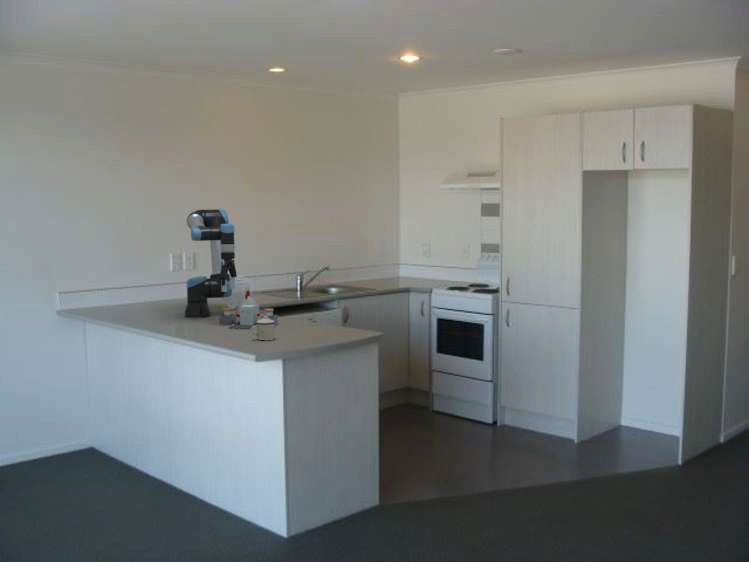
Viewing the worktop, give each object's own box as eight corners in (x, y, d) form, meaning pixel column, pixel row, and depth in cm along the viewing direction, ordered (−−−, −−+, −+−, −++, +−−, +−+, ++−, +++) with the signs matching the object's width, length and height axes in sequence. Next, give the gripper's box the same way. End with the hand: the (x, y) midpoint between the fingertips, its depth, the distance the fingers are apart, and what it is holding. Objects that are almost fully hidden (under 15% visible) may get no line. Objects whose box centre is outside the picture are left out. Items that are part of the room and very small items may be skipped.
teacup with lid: (271, 337, 408) (271, 314, 407) (277, 340, 400) (277, 316, 399) (248, 339, 403) (248, 316, 402) (254, 342, 395) (253, 318, 394)
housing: (225, 322, 458) (225, 313, 458) (278, 323, 453) (278, 314, 452) (217, 325, 447) (217, 316, 446) (272, 326, 441) (272, 317, 441)
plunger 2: (266, 318, 450) (266, 308, 449) (274, 319, 449) (274, 308, 449) (263, 320, 445) (263, 309, 445) (272, 320, 444) (272, 309, 444)
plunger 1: (225, 317, 454) (224, 307, 454) (233, 318, 453) (233, 307, 453) (222, 319, 450) (221, 308, 449) (230, 319, 449) (230, 308, 448)
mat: (234, 326, 444) (234, 324, 444) (255, 326, 442) (255, 325, 442) (228, 328, 436) (228, 327, 436) (249, 329, 433) (249, 328, 433)
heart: (211, 308, 517) (210, 273, 515) (233, 305, 527) (232, 271, 524) (232, 312, 495) (231, 276, 493) (254, 310, 505) (254, 274, 502)
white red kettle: (262, 314, 489) (261, 289, 487) (256, 317, 475) (256, 292, 473) (239, 314, 490) (238, 289, 488) (233, 317, 476) (232, 292, 475)
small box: (257, 324, 451) (256, 305, 450) (253, 325, 446) (252, 306, 445) (244, 323, 453) (243, 304, 452) (239, 325, 448) (239, 306, 447)
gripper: (226, 253, 435) (227, 292, 437) (241, 250, 459) (242, 287, 462) (212, 253, 436) (213, 292, 438) (229, 250, 461) (230, 287, 463)
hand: (228, 290), depth 450 cm, fingers open, 13 cm apart
